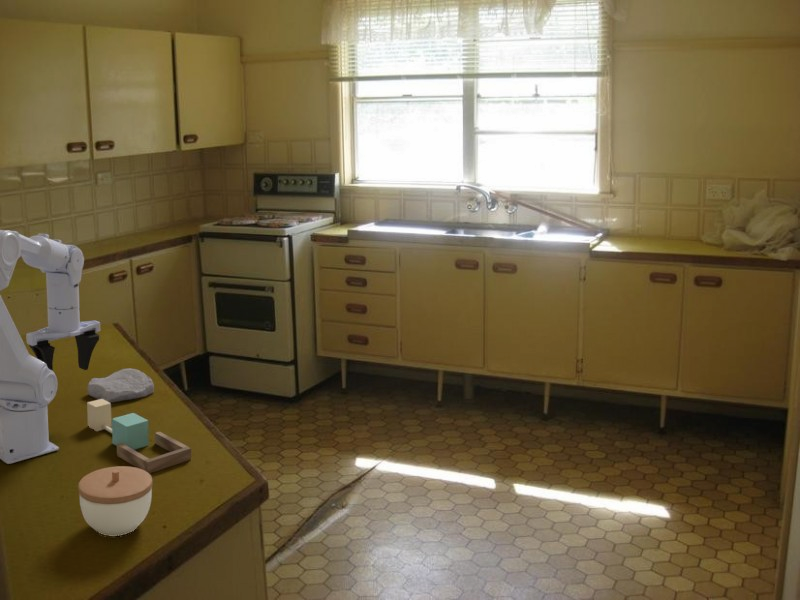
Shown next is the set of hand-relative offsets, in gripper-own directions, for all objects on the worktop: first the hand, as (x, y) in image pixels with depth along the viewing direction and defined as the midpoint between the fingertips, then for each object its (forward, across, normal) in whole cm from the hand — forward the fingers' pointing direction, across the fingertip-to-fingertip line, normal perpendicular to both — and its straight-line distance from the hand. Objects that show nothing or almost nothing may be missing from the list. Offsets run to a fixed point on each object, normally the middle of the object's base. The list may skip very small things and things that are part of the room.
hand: (66, 373), depth 169 cm
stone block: (+10, +16, +5) cm, 20 cm away
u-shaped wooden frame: (+10, +1, -25) cm, 27 cm away
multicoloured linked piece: (+10, +2, -13) cm, 16 cm away
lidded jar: (+10, -18, -42) cm, 47 cm away
